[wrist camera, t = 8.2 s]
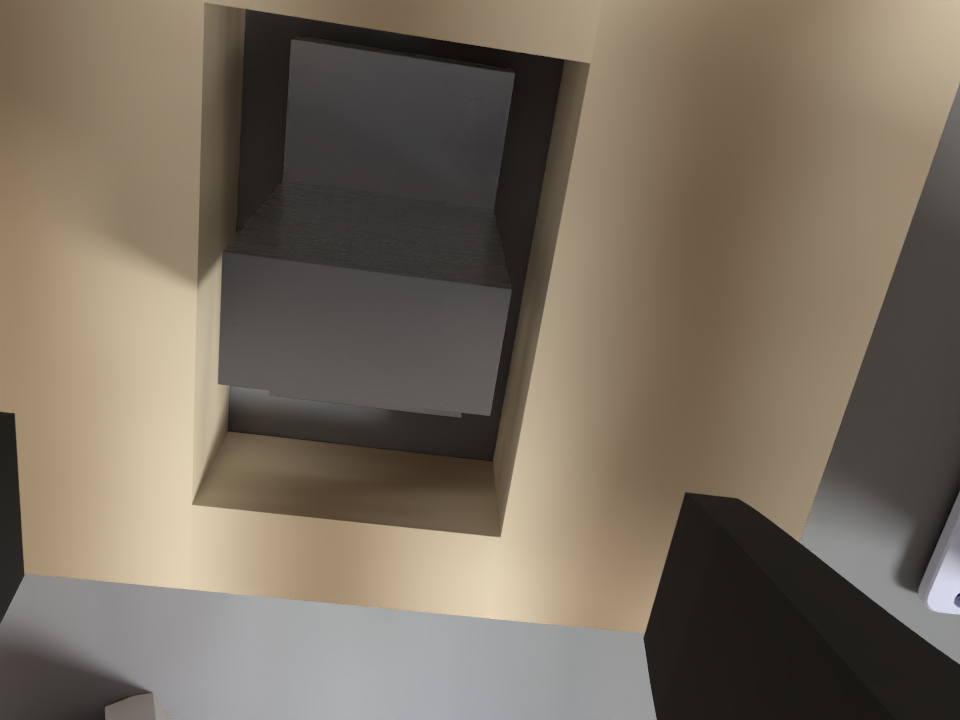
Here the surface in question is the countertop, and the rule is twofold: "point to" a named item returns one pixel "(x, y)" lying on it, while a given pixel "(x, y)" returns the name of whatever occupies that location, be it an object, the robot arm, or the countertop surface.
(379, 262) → the t bracket
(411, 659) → the countertop surface
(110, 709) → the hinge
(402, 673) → the countertop surface
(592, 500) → the well block
